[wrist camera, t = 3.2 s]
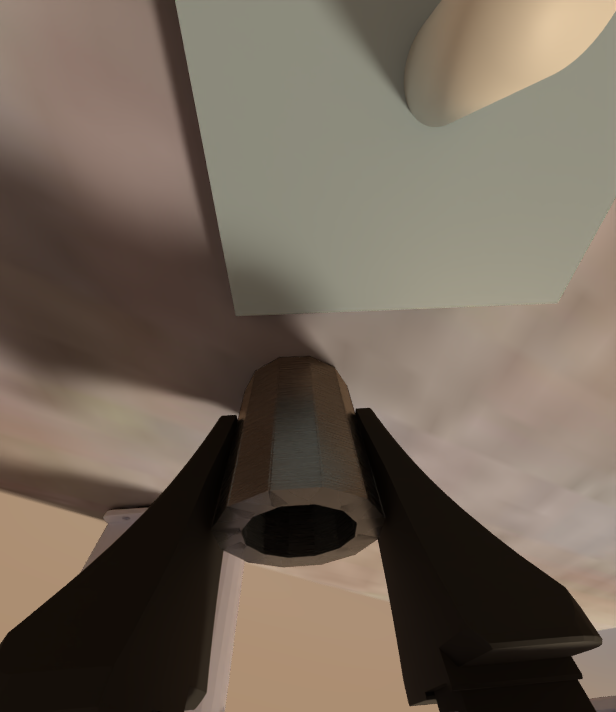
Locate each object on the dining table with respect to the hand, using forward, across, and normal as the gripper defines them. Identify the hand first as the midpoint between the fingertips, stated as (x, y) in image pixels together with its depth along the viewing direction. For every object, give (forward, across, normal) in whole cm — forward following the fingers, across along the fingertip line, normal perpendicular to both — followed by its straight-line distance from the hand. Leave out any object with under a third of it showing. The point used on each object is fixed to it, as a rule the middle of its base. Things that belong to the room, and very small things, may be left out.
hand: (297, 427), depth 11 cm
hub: (+2, 0, 0) cm, 2 cm away
